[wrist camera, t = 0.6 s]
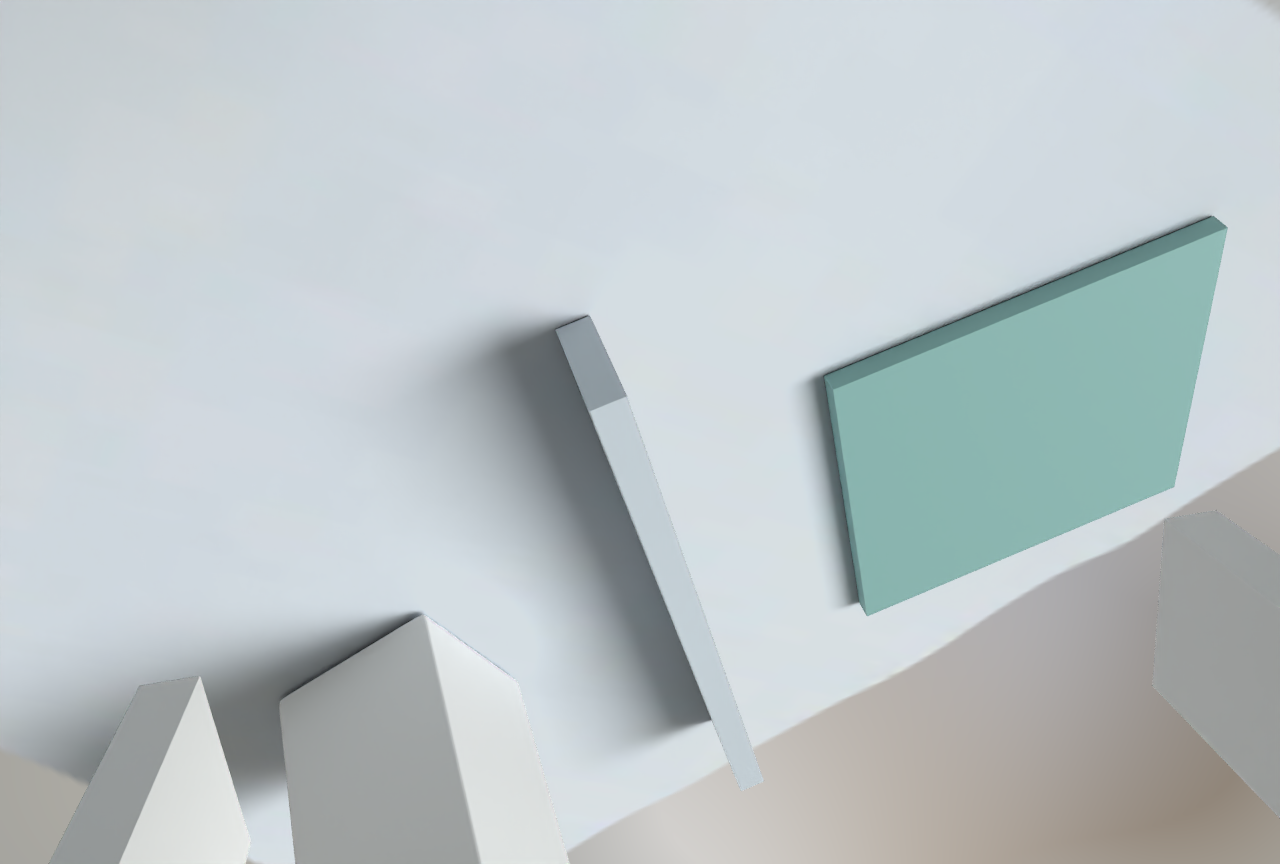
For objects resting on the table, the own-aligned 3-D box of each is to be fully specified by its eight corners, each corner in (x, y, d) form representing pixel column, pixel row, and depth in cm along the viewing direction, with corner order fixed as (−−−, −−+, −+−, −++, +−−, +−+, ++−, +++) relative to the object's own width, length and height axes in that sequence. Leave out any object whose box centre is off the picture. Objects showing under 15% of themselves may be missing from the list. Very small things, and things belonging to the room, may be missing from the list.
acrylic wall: (555, 329, 36) (589, 411, 33) (589, 315, 36) (626, 396, 33) (711, 720, 56) (740, 790, 54) (733, 711, 57) (763, 781, 54)
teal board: (824, 376, 41) (833, 389, 41) (1213, 216, 42) (1227, 227, 42) (859, 603, 53) (867, 616, 53) (1163, 475, 54) (1174, 486, 53)
